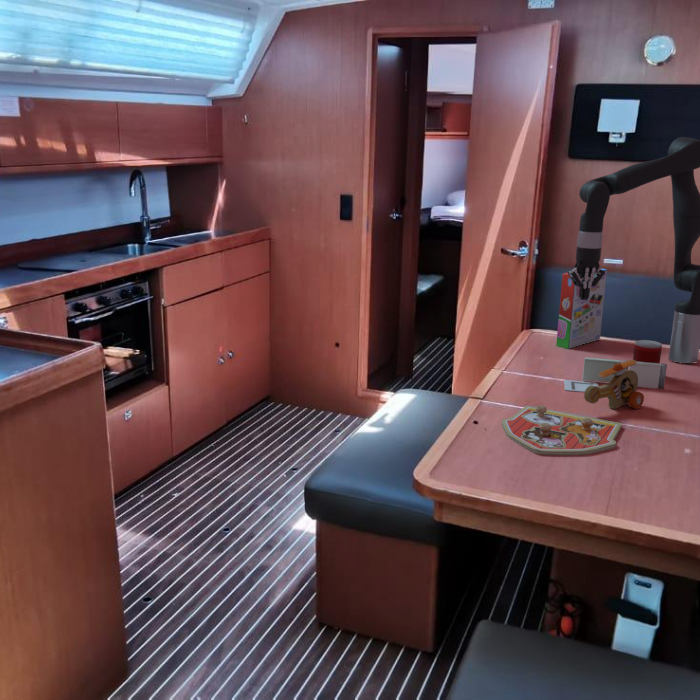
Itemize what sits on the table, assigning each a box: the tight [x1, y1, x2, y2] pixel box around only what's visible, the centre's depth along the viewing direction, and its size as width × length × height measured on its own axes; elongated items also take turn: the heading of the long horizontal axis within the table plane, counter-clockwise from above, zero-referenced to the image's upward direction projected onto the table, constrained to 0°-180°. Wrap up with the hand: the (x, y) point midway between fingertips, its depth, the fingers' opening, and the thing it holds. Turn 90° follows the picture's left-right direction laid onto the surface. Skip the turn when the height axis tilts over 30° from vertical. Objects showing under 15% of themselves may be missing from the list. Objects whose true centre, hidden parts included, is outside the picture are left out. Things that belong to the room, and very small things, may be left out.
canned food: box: [632, 339, 663, 364], centre depth 235 cm, size 8×8×11 cm
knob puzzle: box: [501, 404, 623, 456], centre depth 187 cm, size 29×30×4 cm
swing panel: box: [582, 356, 622, 383], centre depth 227 cm, size 11×2×7 cm, turn 76°
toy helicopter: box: [583, 359, 645, 410], centre depth 204 cm, size 8×21×14 cm, turn 123°
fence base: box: [621, 359, 668, 390], centre depth 225 cm, size 2×13×8 cm, turn 76°
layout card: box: [563, 379, 599, 393], centre depth 224 cm, size 10×10×1 cm
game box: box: [555, 267, 608, 350], centre depth 270 cm, size 21×6×27 cm, turn 130°
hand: (583, 299), depth 238 cm, fingers closed
